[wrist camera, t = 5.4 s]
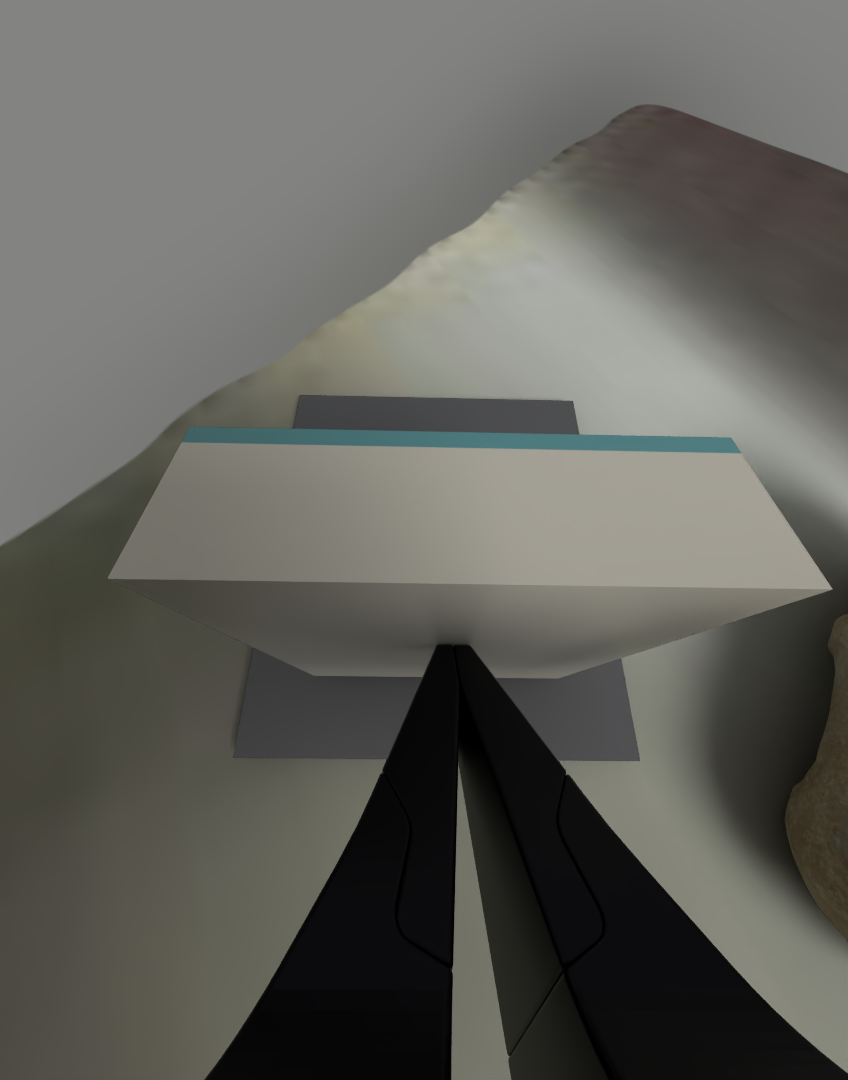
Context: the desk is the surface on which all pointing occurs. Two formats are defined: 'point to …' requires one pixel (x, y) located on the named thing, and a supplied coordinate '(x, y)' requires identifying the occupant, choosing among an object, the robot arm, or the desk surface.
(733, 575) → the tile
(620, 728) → the mat
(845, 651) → the sculpture
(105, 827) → the desk surface
